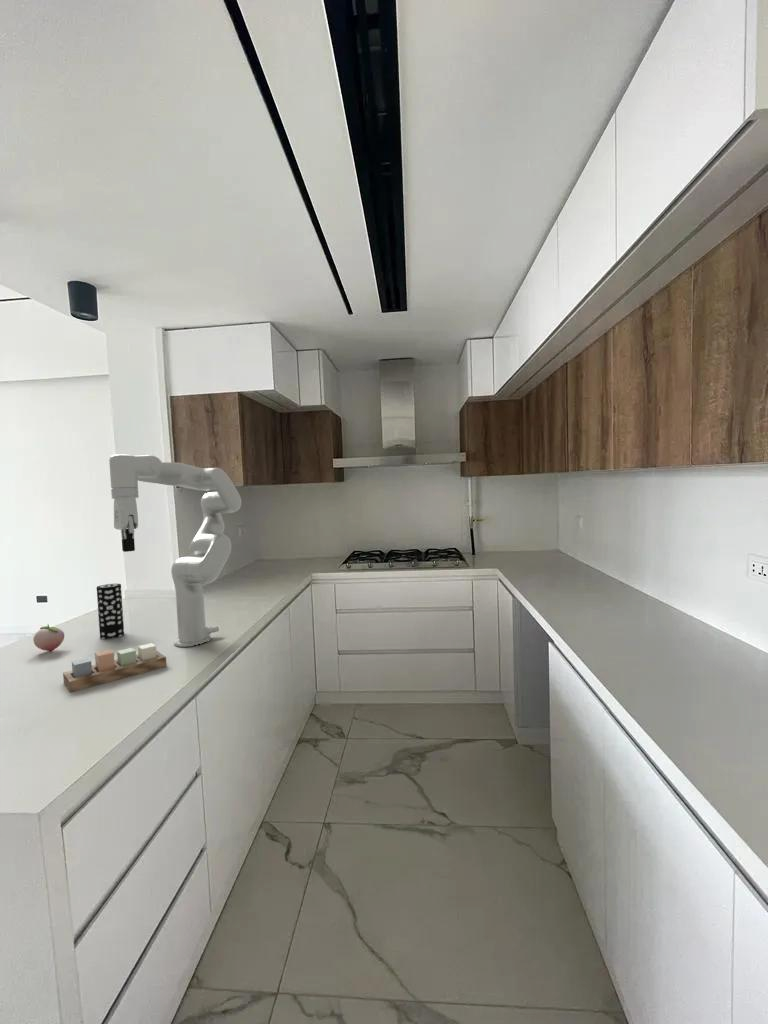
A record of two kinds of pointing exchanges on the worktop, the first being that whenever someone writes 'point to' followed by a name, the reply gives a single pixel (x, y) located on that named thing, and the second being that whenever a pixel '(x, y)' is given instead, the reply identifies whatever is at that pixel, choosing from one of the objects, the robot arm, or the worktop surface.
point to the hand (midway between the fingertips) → (128, 551)
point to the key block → (113, 672)
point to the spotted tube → (110, 611)
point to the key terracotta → (104, 660)
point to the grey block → (81, 667)
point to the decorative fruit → (48, 638)
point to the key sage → (126, 656)
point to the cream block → (147, 651)
